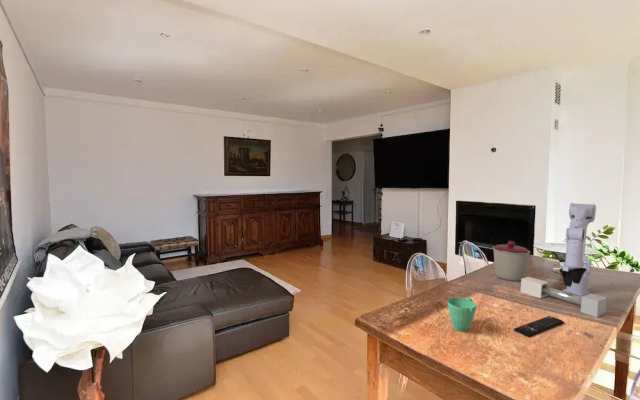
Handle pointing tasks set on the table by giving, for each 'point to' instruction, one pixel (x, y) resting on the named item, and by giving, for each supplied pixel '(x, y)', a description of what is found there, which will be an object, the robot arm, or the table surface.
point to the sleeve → (533, 286)
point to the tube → (562, 295)
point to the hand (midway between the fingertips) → (571, 284)
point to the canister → (510, 261)
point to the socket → (593, 305)
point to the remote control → (538, 326)
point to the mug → (461, 313)
